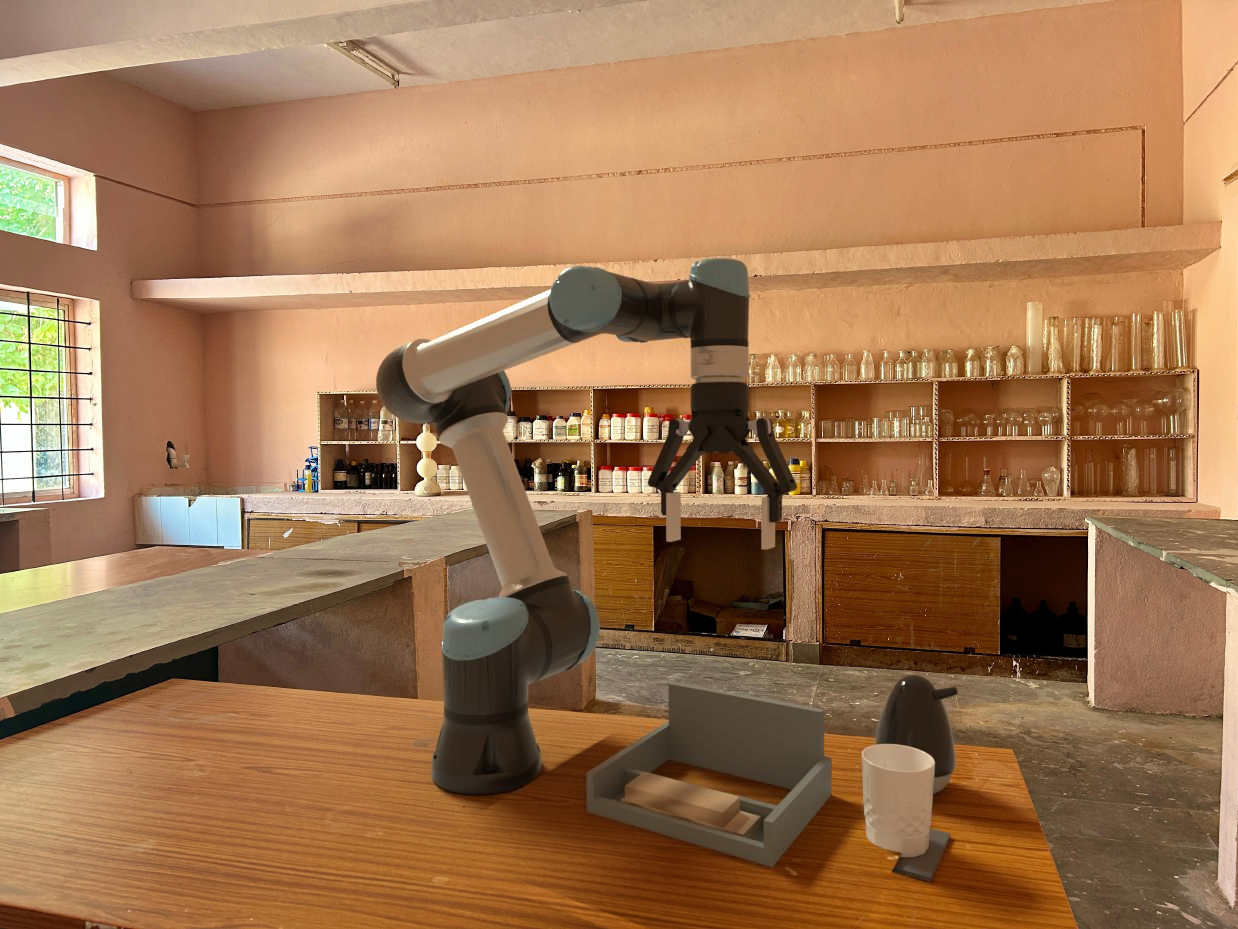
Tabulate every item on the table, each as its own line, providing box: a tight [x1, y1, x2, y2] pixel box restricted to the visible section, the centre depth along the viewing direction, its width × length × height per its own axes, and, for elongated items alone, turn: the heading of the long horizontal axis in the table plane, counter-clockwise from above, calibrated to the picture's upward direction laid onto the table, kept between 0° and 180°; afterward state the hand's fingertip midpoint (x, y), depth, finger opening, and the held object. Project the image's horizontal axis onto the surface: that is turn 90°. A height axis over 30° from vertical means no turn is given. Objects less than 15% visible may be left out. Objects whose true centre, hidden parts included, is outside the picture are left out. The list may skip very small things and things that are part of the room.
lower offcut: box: [621, 797, 761, 840], centre depth 97 cm, size 16×5×2 cm, turn 58°
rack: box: [585, 680, 833, 868], centre depth 102 cm, size 24×20×12 cm
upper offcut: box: [625, 772, 740, 828], centre depth 97 cm, size 13×5×2 cm, turn 58°
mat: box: [891, 828, 951, 883], centre depth 94 cm, size 11×11×1 cm
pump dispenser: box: [874, 673, 959, 795], centre depth 108 cm, size 10×10×15 cm
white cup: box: [861, 744, 935, 858], centre depth 93 cm, size 8×8×10 cm
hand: (719, 544), depth 107 cm, fingers open, 13 cm apart
